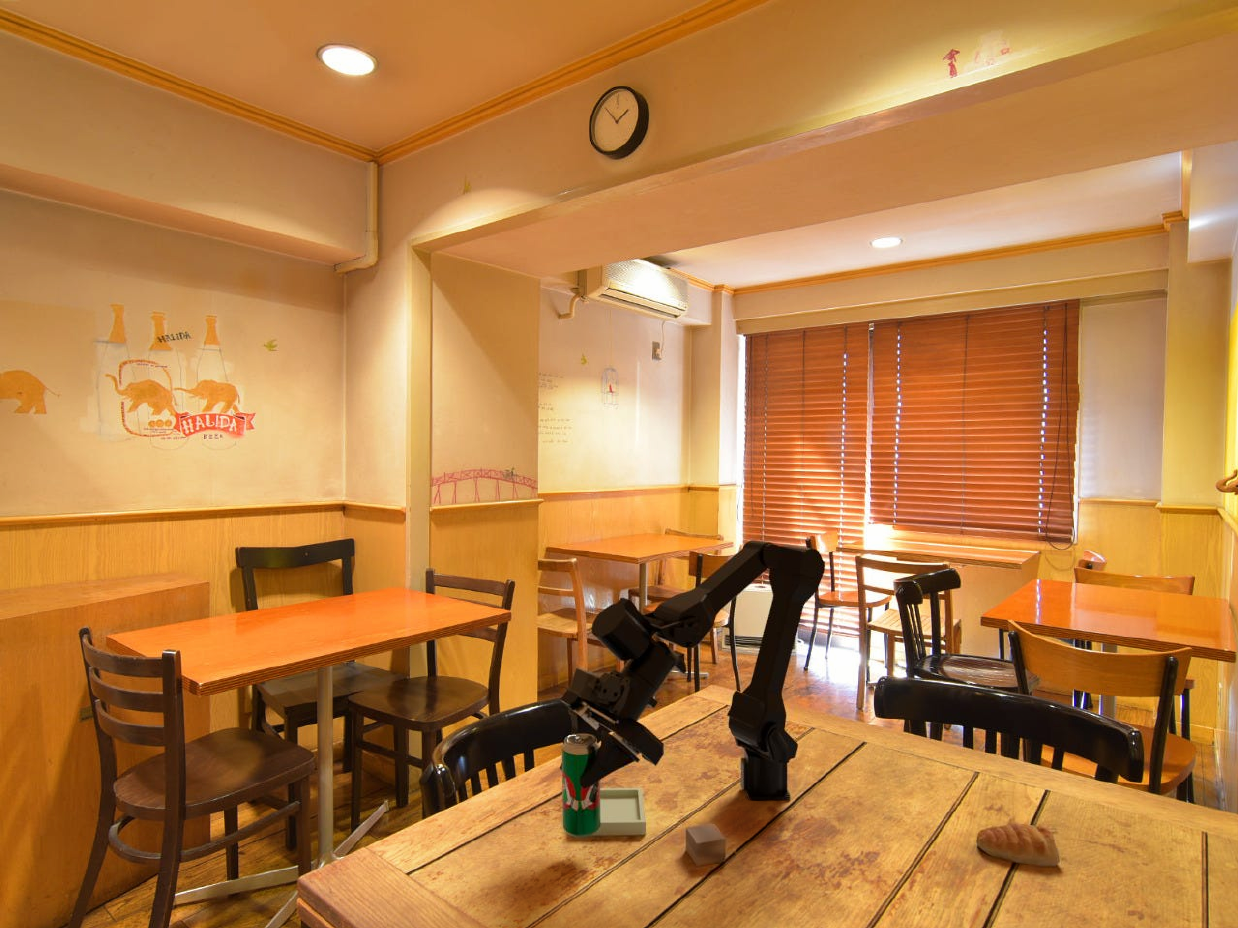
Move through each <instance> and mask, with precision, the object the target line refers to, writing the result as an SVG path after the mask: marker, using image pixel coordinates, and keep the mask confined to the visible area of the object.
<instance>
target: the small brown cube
mask: <svg viewBox="0 0 1238 928" xmlns="http://www.w3.org/2000/svg"><path fill="white" fill-rule="evenodd" d="M726 843H727V842H726V837H725V836H724V835H723V834H722V832H720V830H719V829H718V827H717V826H716V825H715V824H714V823H708V824H701V825H695V826H689V827H688V826H687V827H685V851H686V853H687V854H688V855H689V857H690V858H691V860H692V862H693V863H694V864H695V866H696V867H700V866H701V865H702V866H707V865H708V866H709V865H712V864H713V865H714V864H720V863H724V862H726V860H727V859H726V851H727V849H726V846H727V845H726Z"/></svg>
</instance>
